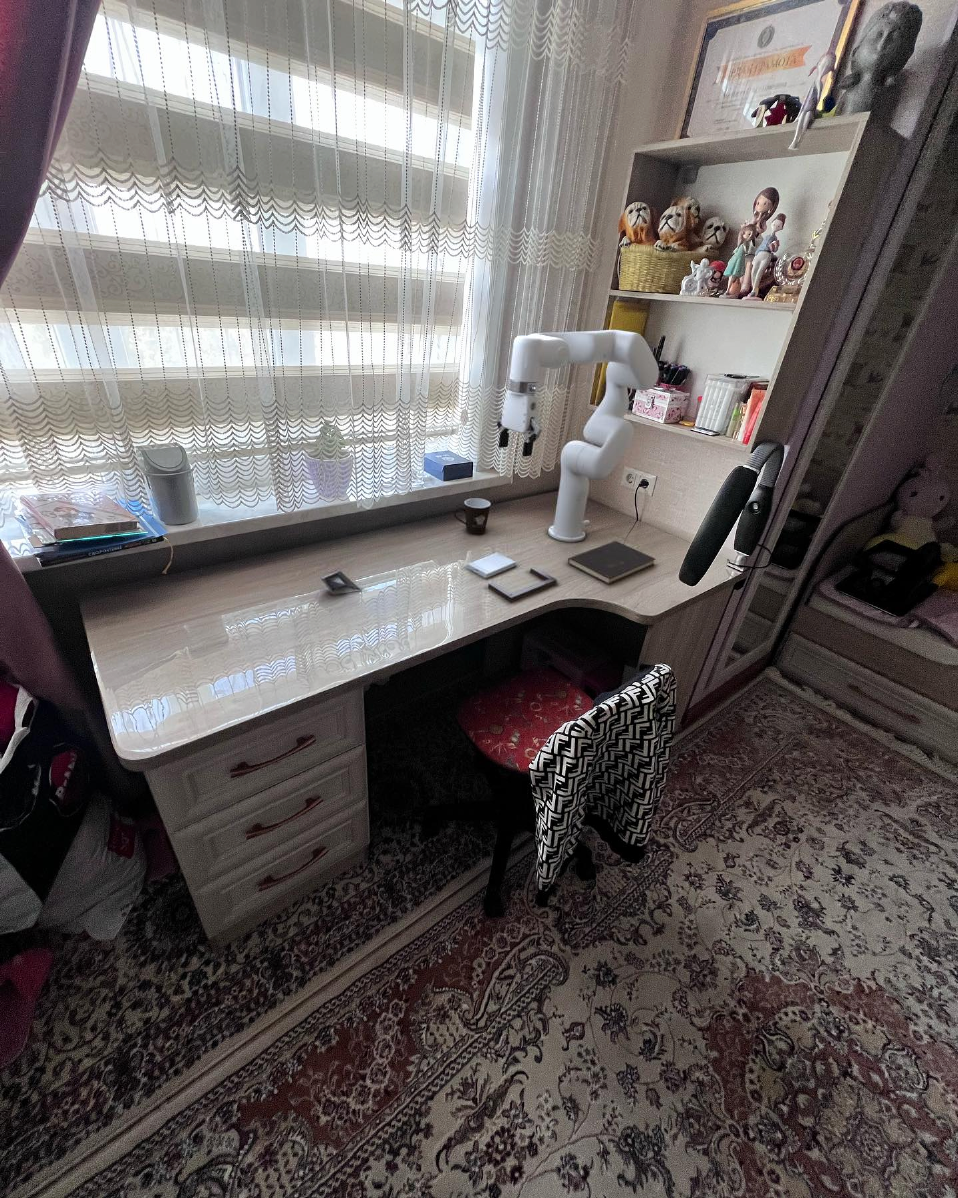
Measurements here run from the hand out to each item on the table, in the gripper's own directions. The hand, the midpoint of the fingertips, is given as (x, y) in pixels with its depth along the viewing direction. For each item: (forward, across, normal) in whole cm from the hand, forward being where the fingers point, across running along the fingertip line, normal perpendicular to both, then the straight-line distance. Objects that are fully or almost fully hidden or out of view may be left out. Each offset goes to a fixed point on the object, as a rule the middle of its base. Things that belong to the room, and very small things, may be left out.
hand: (514, 451), depth 150 cm
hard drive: (+32, -5, +9) cm, 34 cm away
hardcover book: (+31, -24, -24) cm, 46 cm away
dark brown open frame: (+32, -18, +9) cm, 38 cm away
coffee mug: (+32, +19, -3) cm, 37 cm away
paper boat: (+34, +6, +53) cm, 63 cm away
